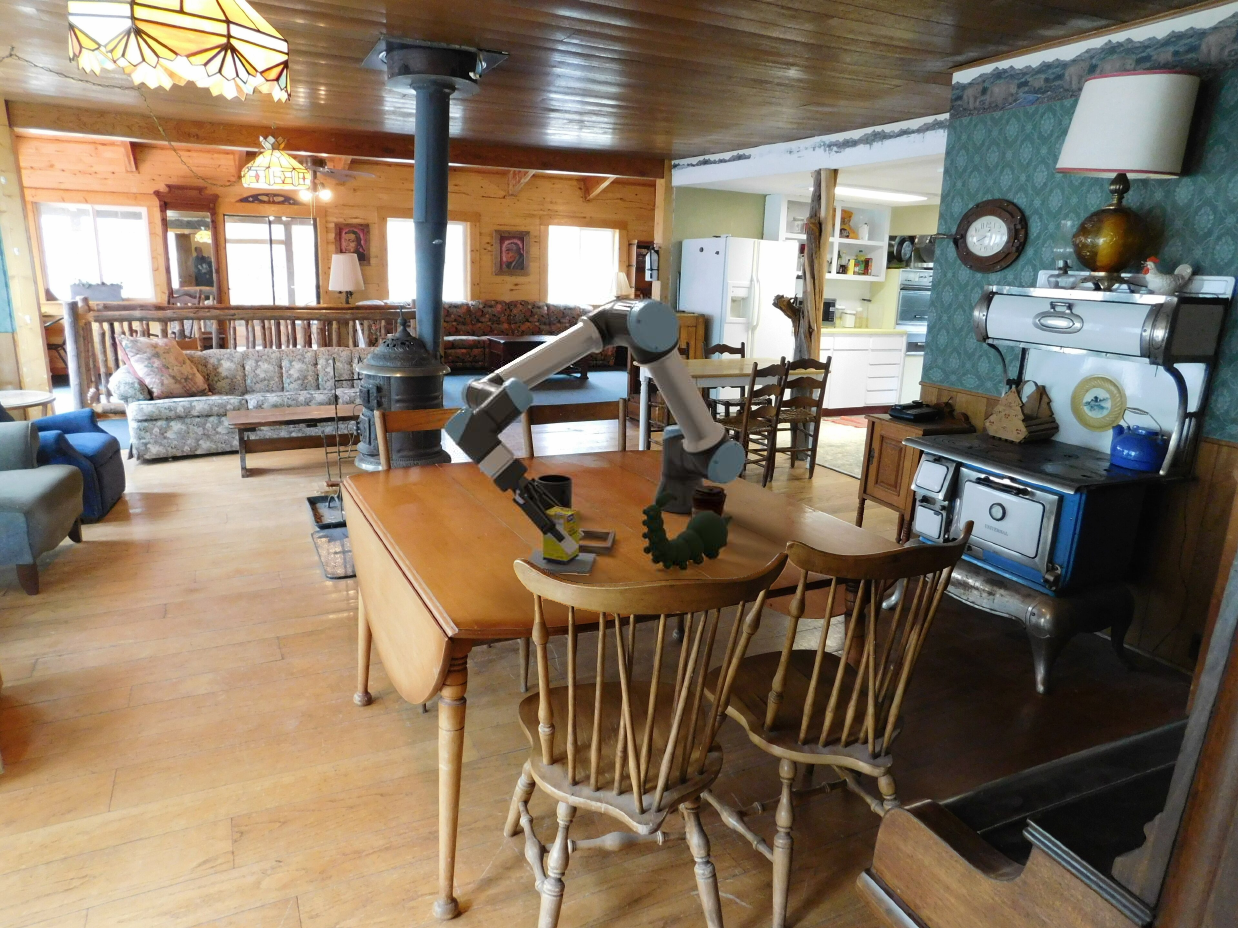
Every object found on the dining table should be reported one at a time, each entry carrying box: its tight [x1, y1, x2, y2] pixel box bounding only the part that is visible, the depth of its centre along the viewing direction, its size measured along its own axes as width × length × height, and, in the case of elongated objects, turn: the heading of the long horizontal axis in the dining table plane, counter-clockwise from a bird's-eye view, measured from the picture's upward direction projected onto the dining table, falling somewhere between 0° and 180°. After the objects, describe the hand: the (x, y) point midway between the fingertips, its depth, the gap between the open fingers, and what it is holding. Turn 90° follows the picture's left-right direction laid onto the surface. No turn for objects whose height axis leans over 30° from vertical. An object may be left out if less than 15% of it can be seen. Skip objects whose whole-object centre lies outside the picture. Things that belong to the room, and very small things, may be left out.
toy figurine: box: [641, 492, 733, 571], centre depth 176 cm, size 9×19×25 cm
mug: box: [536, 474, 573, 509], centre depth 212 cm, size 9×12×9 cm
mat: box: [528, 549, 597, 575], centre depth 174 cm, size 14×11×1 cm
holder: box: [579, 528, 616, 556], centre depth 187 cm, size 12×12×2 cm
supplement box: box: [542, 506, 580, 564], centre depth 173 cm, size 6×6×11 cm
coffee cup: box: [691, 485, 727, 518], centre depth 193 cm, size 9×8×13 cm
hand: (576, 544), depth 173 cm, fingers closed on supplement box, 7 cm apart
